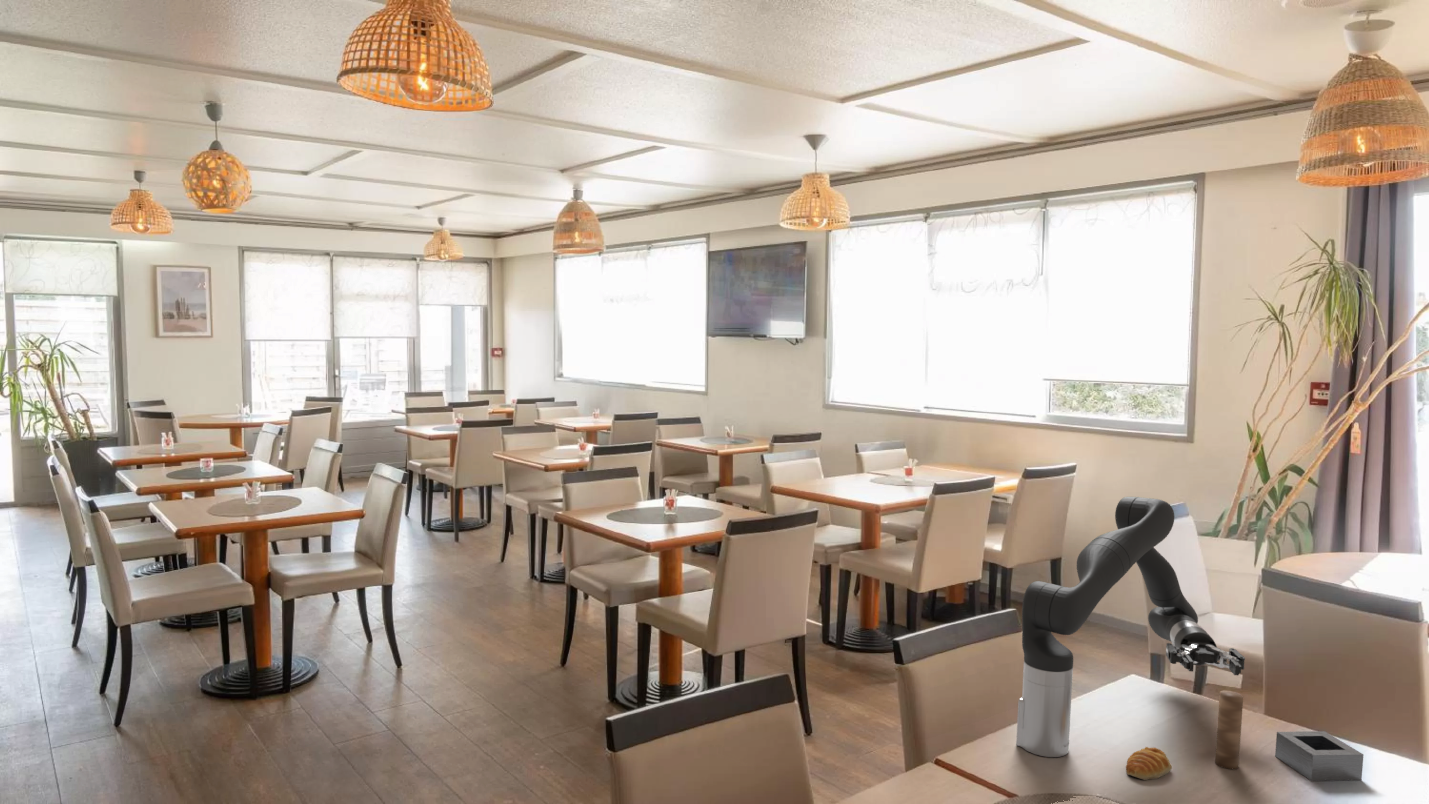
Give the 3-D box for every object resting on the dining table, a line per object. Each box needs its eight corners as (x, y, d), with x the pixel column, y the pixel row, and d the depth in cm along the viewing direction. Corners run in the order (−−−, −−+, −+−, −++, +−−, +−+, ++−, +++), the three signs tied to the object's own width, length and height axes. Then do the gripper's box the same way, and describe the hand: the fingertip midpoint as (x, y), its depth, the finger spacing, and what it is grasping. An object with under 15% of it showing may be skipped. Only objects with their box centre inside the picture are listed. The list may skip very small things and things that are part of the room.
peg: (1213, 764, 178) (1217, 694, 177) (1216, 757, 181) (1221, 688, 180) (1236, 771, 176) (1241, 700, 175) (1240, 763, 179) (1244, 694, 178)
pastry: (1151, 787, 169) (1152, 766, 169) (1115, 773, 175) (1116, 754, 174) (1173, 772, 176) (1174, 752, 175) (1138, 759, 181) (1139, 740, 180)
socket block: (1311, 780, 173) (1313, 755, 172) (1275, 756, 183) (1276, 731, 182) (1361, 779, 173) (1363, 754, 173) (1322, 755, 183) (1324, 731, 183)
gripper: (1158, 622, 205) (1177, 648, 190) (1228, 628, 202) (1253, 654, 187) (1156, 655, 206) (1175, 683, 190) (1226, 661, 203) (1251, 689, 187)
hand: (1214, 668), depth 188 cm, fingers open, 8 cm apart
